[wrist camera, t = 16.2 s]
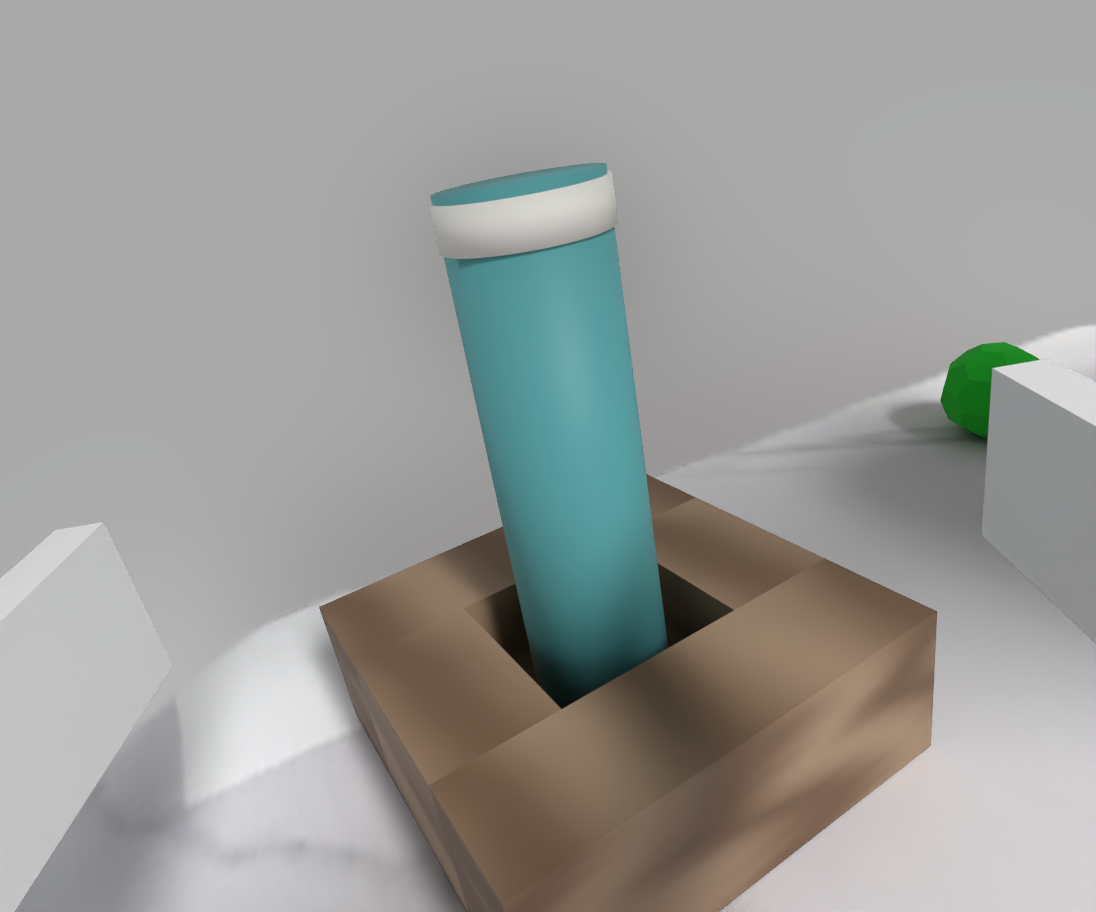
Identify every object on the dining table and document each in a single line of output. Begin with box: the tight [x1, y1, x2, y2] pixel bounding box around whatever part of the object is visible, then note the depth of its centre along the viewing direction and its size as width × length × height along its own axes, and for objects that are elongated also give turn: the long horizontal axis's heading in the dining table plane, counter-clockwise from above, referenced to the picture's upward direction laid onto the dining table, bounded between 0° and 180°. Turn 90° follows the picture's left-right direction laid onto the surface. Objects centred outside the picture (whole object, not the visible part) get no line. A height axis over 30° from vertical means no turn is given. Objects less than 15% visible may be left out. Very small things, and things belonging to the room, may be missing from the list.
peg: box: [429, 163, 668, 709], centre depth 23 cm, size 5×5×18 cm
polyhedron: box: [940, 342, 1039, 439], centre depth 40 cm, size 5×5×5 cm
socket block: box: [319, 474, 937, 912], centre depth 25 cm, size 14×14×5 cm
